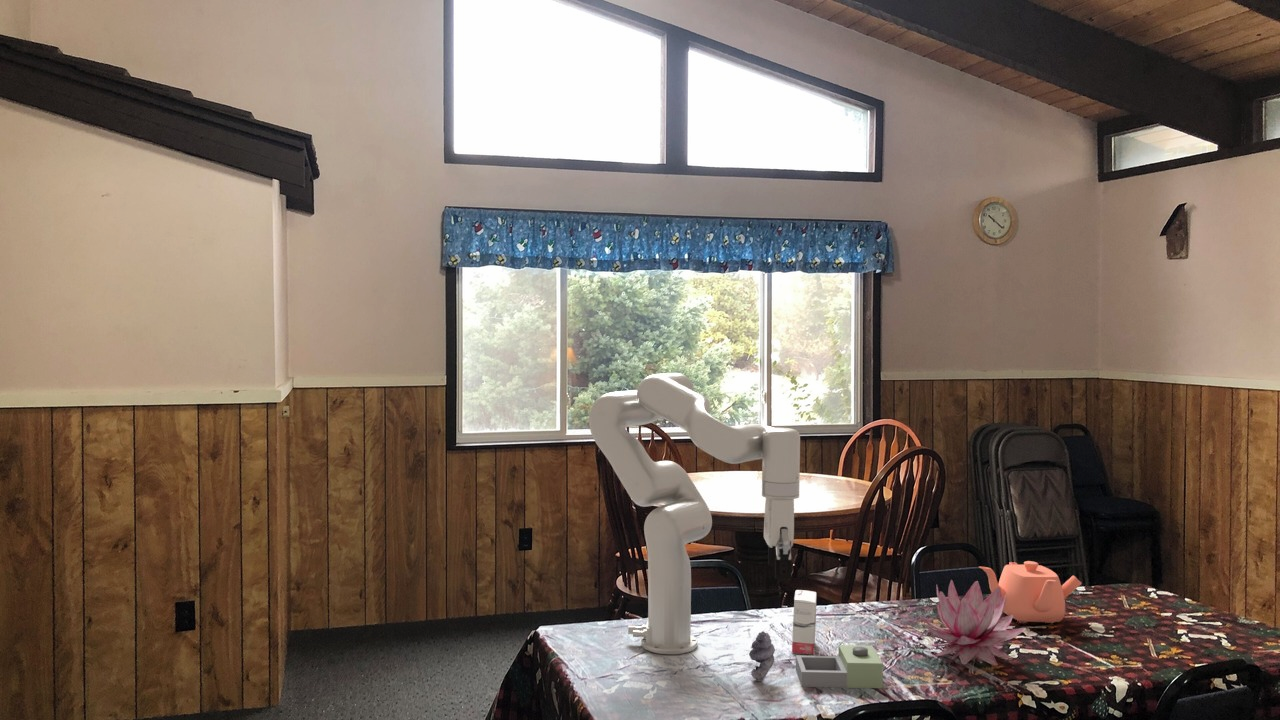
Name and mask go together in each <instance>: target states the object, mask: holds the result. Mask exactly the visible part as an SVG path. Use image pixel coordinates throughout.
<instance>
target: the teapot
mask: <svg viewBox="0 0 1280 720" xmlns="http://www.w3.org/2000/svg"><path fill="white" fill-rule="evenodd" d="M1008 563H1009V564H1006V565H1004V566H1003V570H1002V572H1001V575H1000V578H999V581H998V580H997V575H996V573H995V571H994V570H993V569H992V568H991V567H988V566H987V567H986V566H978V568H979V569H981V570H983V571H984V572H985V574H986V576H987V578H988V584H989V589H990V594H991V593H992V592H993V591H994V590H995V589H996V588H997V587H1000V589H1001V600H1002V599H1003V597H1004V596H1005V594H1006V602H1005V607H1004V610H1003V612H1002V613H1004V614H1005V615H1006V616H1009V615H1013V618H1012V619H1014V620H1015V621H1016V620H1017V621H1019V622H1025V623H1026V622H1028V623H1029V622H1031V623H1044V622H1045V623H1044V624H1046V623H1054V622H1055V623H1058V622H1061V621H1062V620H1063V619H1064V616H1065V614H1066V602H1065V599H1066V598H1067V597H1068V596H1069V595H1071V594H1072V593H1073V592H1074V591H1075V590H1077V588H1079V587H1080V586H1081V585H1082V581H1080V580H1079V579H1078V578H1077V576H1075V575H1072V576H1071V577H1070V578H1068V579H1067V580H1065V582H1064V583H1063V584H1061V580H1060V578H1059V576H1058V574H1057V573H1056V572H1054V571H1053V570H1052V569H1050V568H1049V567H1046V566H1043V565H1041V564H1040V565H1039V563H1038V562H1036V561H1031V560H1027V561H1024V562H1023V564H1018V563H1017V562H1012V561H1010V562H1008Z"/></svg>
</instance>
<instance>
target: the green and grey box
mask: <svg viewBox="0 0 1280 720" xmlns="http://www.w3.org/2000/svg"><path fill="white" fill-rule="evenodd" d="M883 663H884V662H883V661H882V660H881V657H880V655H879V654H878V653H877V651H876V649H875V648H874V645H861V644H860V645H856V644H855V645H853V644H852V645H851V644H838V655H800V654H799V655H798V654H797V655H795V671H796V675H797V677H798V681H799V684H800V686H801V687H803V688H804V687H806V688H843V689H844V688H845V689H846V688H847V689H848V688H849V689H850V688H853V689H855V688H856V689H883V686H884V685H883V683H884V681H883V680H884V676H883V675H884V672H883V671H884V664H883ZM801 687H800V688H801Z"/></svg>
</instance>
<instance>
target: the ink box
mask: <svg viewBox="0 0 1280 720" xmlns="http://www.w3.org/2000/svg"><path fill="white" fill-rule="evenodd" d="M793 600H794V601H793V602H794V603H793V614H792V615H793V618H792V638H791V639H792V640H791V644H792V645H791V654H797V655H798V654H799V655H800V654H801V655H802V654H803V655H810V656H814V654H815V642H816V641H815V640H816V625H817V624H816V623H817V621H816V620H817V592H816V591H813V590H808V589H807V590H806V589H805V590H803V589H796V590H795V592H794V597H793Z"/></svg>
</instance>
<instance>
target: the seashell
mask: <svg viewBox="0 0 1280 720" xmlns="http://www.w3.org/2000/svg"><path fill="white" fill-rule="evenodd" d="M751 648H752V649H751V650H750V651H749V653H748V654H749V657H750V660H752V661H755V662H756V663H759V665H755V667H754V668H752V670H751V672H750V673H751V674H750V676H752V678H753V680H755V681H757V682H762V681H763V680H764V679H765V678H766V677H767V675H768V673H769V671H771V669H772V667H773V665H774V662H775V656H774V655H775V652H776V649H775V646H774V644H773V643H772V639H771V635H770V634H769V633H768V632H765V630H762V631H761V632H758V635H756V638H755V640H754V641H753V642H752V644H751Z"/></svg>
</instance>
